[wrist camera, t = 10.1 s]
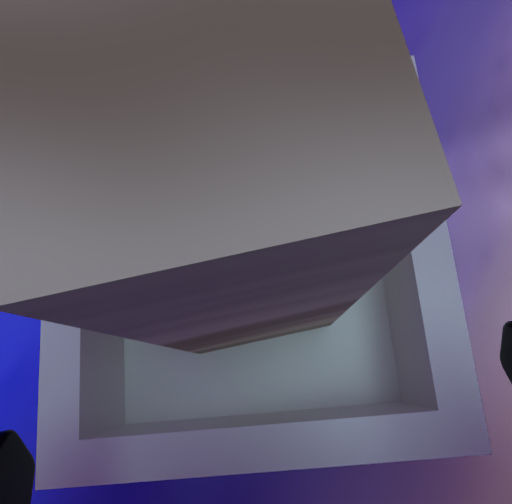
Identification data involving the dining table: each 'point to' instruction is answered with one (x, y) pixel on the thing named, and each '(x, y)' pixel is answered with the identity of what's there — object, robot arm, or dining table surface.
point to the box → (270, 391)
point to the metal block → (209, 164)
